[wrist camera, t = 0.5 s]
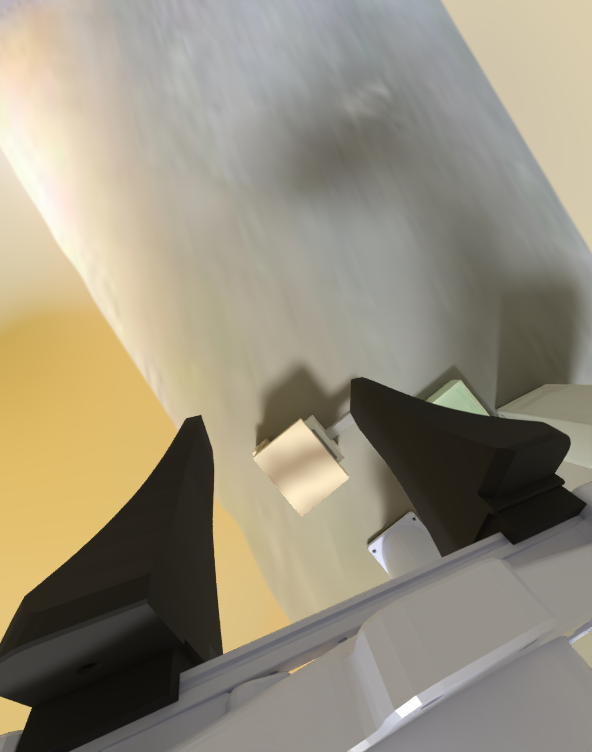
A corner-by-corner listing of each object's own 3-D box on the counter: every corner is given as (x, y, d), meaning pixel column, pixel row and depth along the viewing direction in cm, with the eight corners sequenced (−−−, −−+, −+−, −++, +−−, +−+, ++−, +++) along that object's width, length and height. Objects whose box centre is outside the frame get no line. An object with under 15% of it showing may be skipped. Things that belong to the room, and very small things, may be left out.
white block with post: (368, 420, 35) (380, 429, 30) (293, 481, 35) (292, 500, 30) (343, 389, 35) (350, 392, 30) (268, 450, 35) (262, 464, 30)
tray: (496, 434, 35) (508, 438, 33) (426, 490, 35) (434, 497, 33) (451, 379, 35) (460, 379, 33) (381, 435, 35) (386, 439, 33)
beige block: (340, 457, 35) (349, 478, 29) (295, 494, 35) (294, 522, 29) (300, 410, 35) (300, 419, 28) (256, 446, 35) (246, 464, 29)
